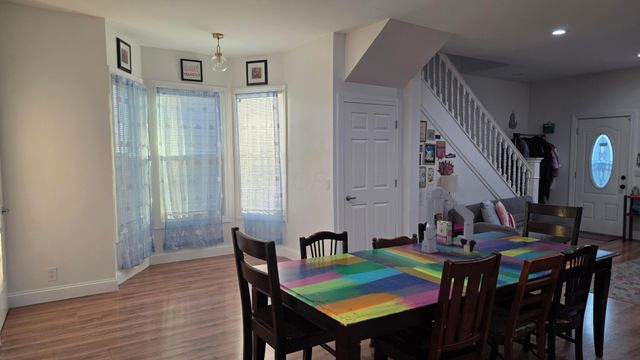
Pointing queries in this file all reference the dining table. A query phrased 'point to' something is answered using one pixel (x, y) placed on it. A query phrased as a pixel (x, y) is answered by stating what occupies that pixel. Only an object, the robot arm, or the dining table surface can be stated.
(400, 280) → the dining table surface
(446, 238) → the candy bar box
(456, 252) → the power strip
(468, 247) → the charger
